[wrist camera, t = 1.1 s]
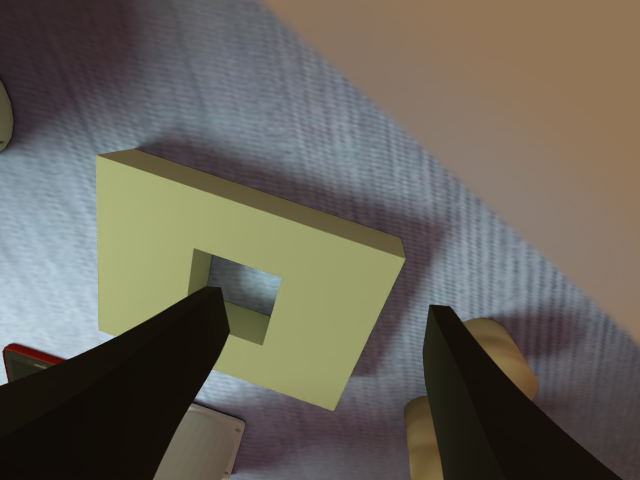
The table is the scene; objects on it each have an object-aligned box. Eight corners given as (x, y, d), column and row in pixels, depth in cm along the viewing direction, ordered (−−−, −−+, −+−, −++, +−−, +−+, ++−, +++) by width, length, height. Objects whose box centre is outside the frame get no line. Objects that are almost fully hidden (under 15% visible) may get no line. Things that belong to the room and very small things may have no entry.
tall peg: (441, 437, 26) (470, 566, 19) (396, 421, 26) (406, 543, 19) (464, 406, 24) (505, 534, 17) (416, 389, 24) (436, 510, 17)
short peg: (490, 370, 23) (514, 420, 19) (438, 352, 23) (451, 399, 19) (521, 329, 21) (553, 376, 17) (464, 310, 21) (484, 352, 17)
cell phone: (29, 432, 36) (20, 440, 35) (10, 337, 30) (-1, 345, 29) (91, 454, 35) (84, 463, 35) (86, 363, 29) (77, 371, 29)
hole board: (337, 378, 25) (333, 411, 22) (127, 306, 25) (98, 330, 22) (400, 237, 20) (405, 259, 17) (133, 148, 20) (95, 155, 17)
